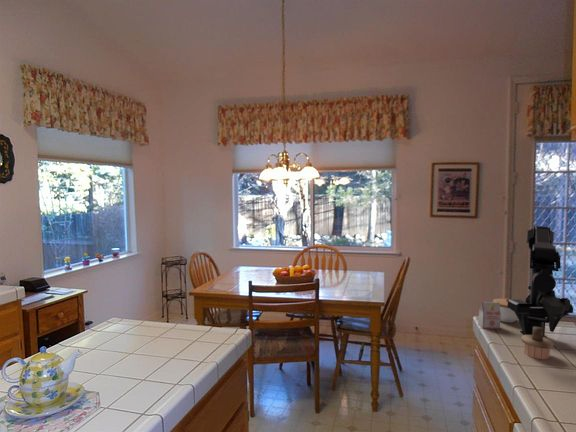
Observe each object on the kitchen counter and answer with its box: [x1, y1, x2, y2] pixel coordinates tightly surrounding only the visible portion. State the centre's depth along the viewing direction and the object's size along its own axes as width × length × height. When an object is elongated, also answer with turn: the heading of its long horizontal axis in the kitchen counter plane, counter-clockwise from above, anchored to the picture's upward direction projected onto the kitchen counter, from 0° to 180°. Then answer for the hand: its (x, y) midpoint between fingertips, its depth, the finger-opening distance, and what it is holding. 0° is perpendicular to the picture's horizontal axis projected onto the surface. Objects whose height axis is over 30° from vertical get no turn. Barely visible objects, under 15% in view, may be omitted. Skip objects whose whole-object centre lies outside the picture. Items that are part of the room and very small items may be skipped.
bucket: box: [523, 342, 551, 360], centre depth 128 cm, size 7×7×4 cm
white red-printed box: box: [477, 301, 501, 330], centre depth 153 cm, size 4×7×10 cm, turn 88°
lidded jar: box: [492, 297, 518, 324], centre depth 162 cm, size 11×11×9 cm
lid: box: [521, 326, 555, 349], centre depth 128 cm, size 9×9×5 cm
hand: (538, 331), depth 128 cm, fingers open, 9 cm apart
